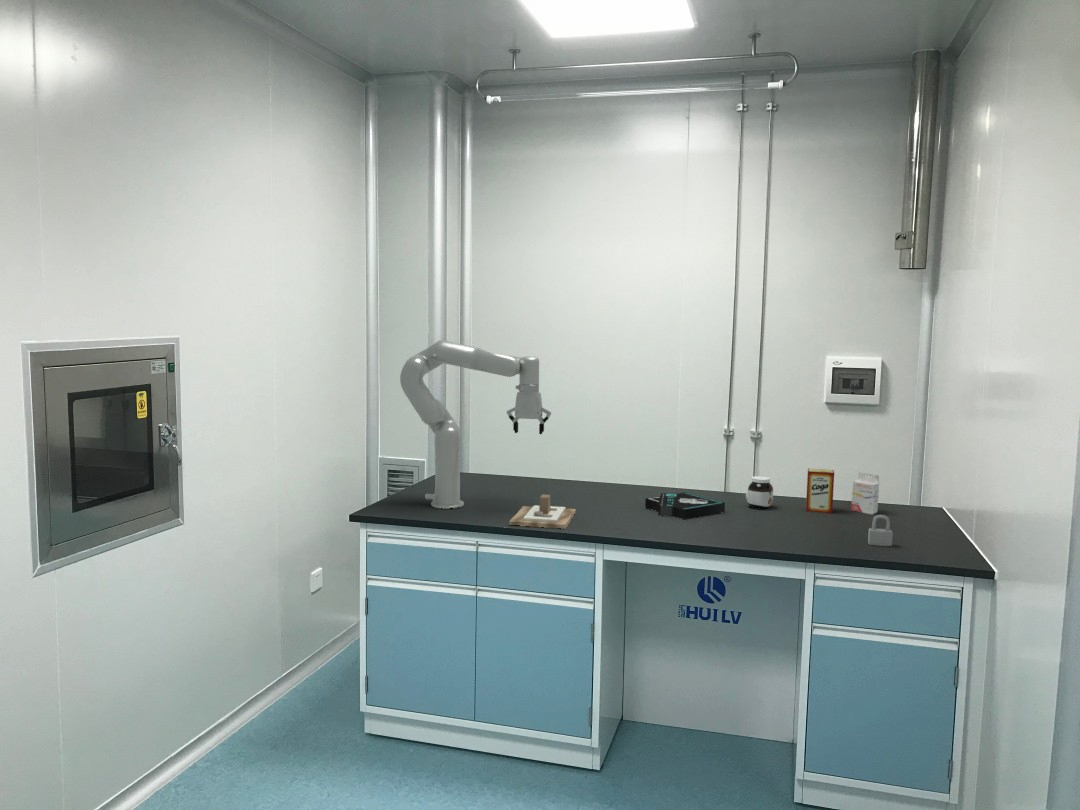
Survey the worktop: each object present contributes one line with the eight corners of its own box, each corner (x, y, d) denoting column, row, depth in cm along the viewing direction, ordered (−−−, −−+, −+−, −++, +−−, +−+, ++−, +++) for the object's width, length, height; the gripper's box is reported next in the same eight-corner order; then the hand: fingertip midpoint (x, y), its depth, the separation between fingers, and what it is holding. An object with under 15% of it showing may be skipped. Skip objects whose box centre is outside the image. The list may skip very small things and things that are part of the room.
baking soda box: (806, 511, 318) (808, 470, 317) (805, 507, 325) (807, 467, 323) (832, 513, 316) (834, 471, 314) (831, 509, 322) (833, 468, 320)
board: (509, 525, 291) (509, 515, 290) (523, 509, 314) (523, 500, 314) (565, 529, 287) (565, 518, 287) (575, 512, 311) (575, 503, 310)
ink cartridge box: (850, 510, 320) (852, 473, 318) (855, 508, 324) (857, 471, 322) (872, 514, 314) (875, 476, 313) (877, 512, 318) (880, 474, 316)
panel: (523, 520, 292) (523, 501, 291) (534, 507, 311) (534, 489, 311) (556, 522, 290) (556, 503, 289) (565, 509, 309) (565, 491, 308)
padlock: (869, 545, 272) (870, 515, 271) (867, 542, 276) (869, 512, 275) (892, 547, 270) (894, 517, 269) (890, 544, 274) (892, 514, 273)
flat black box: (642, 518, 306) (725, 523, 300) (643, 507, 306) (726, 512, 300) (647, 500, 335) (723, 504, 330) (647, 490, 335) (723, 494, 329)
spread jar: (760, 510, 318) (762, 481, 317) (736, 505, 327) (737, 476, 325) (778, 506, 326) (779, 477, 325) (753, 501, 334) (755, 472, 333)
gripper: (504, 389, 315) (504, 433, 317) (549, 390, 312) (548, 435, 314) (509, 387, 322) (508, 431, 324) (553, 388, 319) (552, 432, 321)
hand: (528, 433), depth 319 cm, fingers open, 9 cm apart
